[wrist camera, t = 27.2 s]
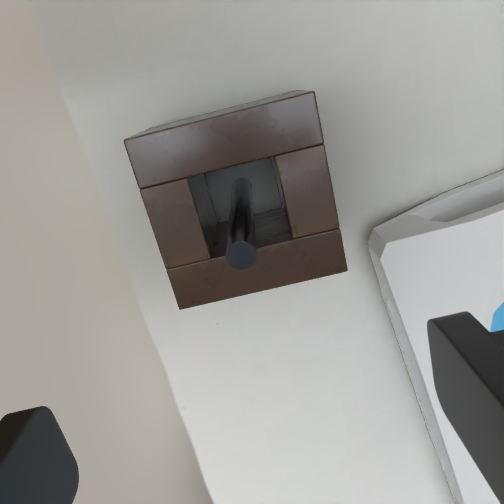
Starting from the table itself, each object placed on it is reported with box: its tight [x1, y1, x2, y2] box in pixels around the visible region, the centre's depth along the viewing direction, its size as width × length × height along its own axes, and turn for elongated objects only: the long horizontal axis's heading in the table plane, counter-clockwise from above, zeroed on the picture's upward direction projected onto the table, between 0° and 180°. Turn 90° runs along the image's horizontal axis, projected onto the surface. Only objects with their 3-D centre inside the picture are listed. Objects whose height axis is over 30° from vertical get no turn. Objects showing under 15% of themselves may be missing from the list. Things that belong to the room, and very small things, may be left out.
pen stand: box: [124, 90, 348, 310], centre depth 27 cm, size 10×10×7 cm
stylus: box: [226, 178, 257, 270], centre depth 24 cm, size 1×1×14 cm
